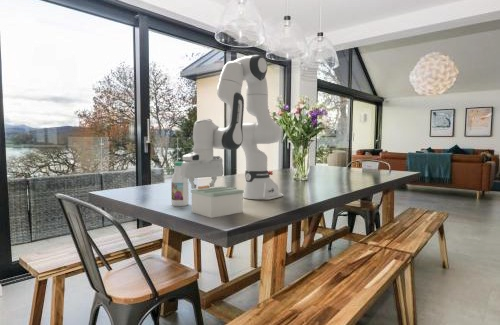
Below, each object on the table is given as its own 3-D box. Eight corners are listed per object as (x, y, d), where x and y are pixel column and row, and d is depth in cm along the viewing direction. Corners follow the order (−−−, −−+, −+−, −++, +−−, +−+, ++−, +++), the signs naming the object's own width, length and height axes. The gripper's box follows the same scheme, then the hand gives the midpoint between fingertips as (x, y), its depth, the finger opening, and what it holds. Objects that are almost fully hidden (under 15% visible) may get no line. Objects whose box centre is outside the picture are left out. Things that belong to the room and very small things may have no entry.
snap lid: (217, 188, 150) (217, 184, 150) (244, 193, 136) (244, 188, 136) (186, 191, 139) (186, 187, 139) (212, 197, 125) (212, 192, 125)
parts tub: (222, 207, 147) (222, 189, 147) (242, 212, 137) (242, 193, 136) (191, 212, 137) (191, 193, 136) (211, 217, 126) (211, 197, 126)
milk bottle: (181, 202, 157) (181, 161, 156) (192, 204, 152) (191, 161, 151) (168, 205, 151) (167, 161, 150) (178, 207, 146) (178, 162, 145)
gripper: (218, 155, 152) (217, 185, 153) (179, 156, 138) (179, 188, 139) (226, 156, 147) (226, 186, 148) (186, 156, 134) (186, 190, 134)
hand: (203, 187), depth 143 cm, fingers open, 8 cm apart
